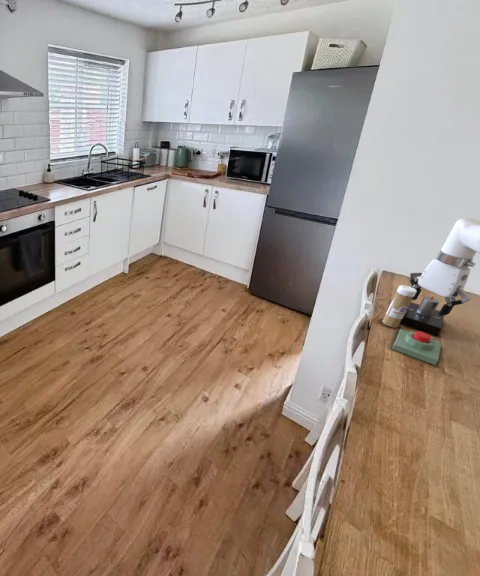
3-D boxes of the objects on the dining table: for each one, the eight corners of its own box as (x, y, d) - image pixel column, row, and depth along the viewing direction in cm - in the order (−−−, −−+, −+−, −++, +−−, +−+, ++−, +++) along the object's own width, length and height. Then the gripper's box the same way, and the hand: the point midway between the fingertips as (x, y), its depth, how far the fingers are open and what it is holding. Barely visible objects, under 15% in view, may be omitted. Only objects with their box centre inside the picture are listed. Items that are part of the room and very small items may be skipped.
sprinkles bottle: (390, 328, 118) (408, 291, 112) (378, 320, 122) (395, 284, 116) (402, 327, 119) (421, 291, 113) (389, 319, 123) (407, 284, 117)
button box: (435, 365, 102) (441, 355, 101) (392, 349, 108) (397, 339, 107) (438, 347, 110) (444, 337, 108) (398, 333, 116) (403, 323, 114)
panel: (436, 336, 115) (441, 328, 114) (398, 323, 121) (402, 315, 120) (440, 320, 124) (445, 312, 123) (404, 308, 130) (408, 300, 129)
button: (427, 345, 105) (430, 340, 105) (412, 339, 108) (414, 334, 107) (428, 339, 108) (431, 335, 107) (413, 334, 110) (416, 329, 109)
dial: (430, 318, 119) (439, 303, 116) (415, 313, 121) (423, 298, 119) (432, 314, 122) (440, 298, 119) (417, 309, 124) (425, 294, 121)
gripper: (495, 270, 106) (463, 320, 114) (432, 247, 120) (408, 293, 129) (477, 272, 104) (446, 323, 112) (416, 249, 118) (392, 295, 127)
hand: (426, 307), depth 120 cm, fingers open, 9 cm apart
